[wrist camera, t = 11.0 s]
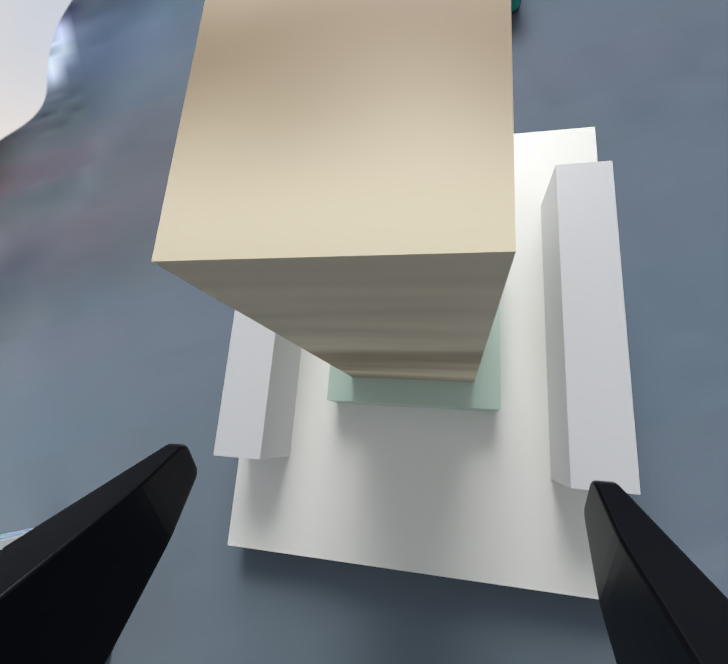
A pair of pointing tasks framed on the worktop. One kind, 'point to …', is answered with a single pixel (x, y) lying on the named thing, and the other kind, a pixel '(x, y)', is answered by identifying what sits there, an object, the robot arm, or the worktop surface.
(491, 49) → the birch block
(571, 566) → the display stand
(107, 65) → the worktop surface
